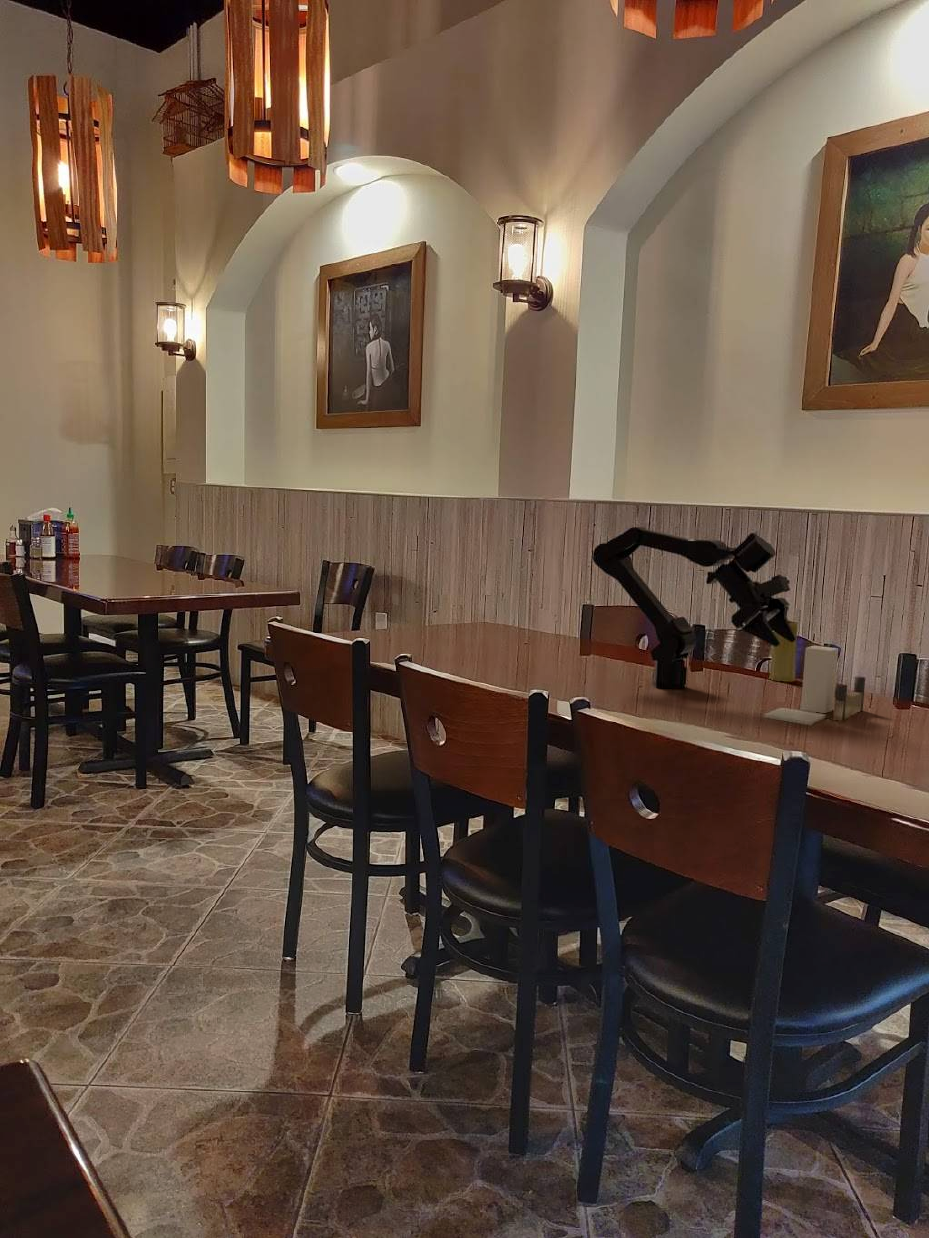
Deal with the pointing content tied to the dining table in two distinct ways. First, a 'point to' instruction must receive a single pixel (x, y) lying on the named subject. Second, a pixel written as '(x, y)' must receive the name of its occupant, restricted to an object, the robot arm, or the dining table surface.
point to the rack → (849, 699)
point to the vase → (784, 658)
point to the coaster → (795, 716)
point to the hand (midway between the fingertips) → (786, 643)
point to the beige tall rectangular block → (819, 679)
